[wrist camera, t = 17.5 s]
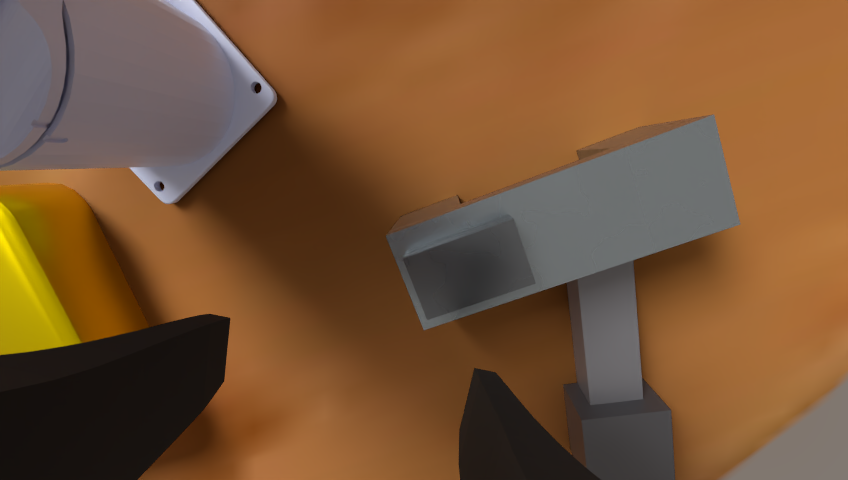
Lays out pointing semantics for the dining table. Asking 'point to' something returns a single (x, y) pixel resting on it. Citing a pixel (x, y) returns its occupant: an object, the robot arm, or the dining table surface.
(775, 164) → the dining table surface
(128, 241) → the dining table surface
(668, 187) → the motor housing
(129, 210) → the dining table surface
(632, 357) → the plug
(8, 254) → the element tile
